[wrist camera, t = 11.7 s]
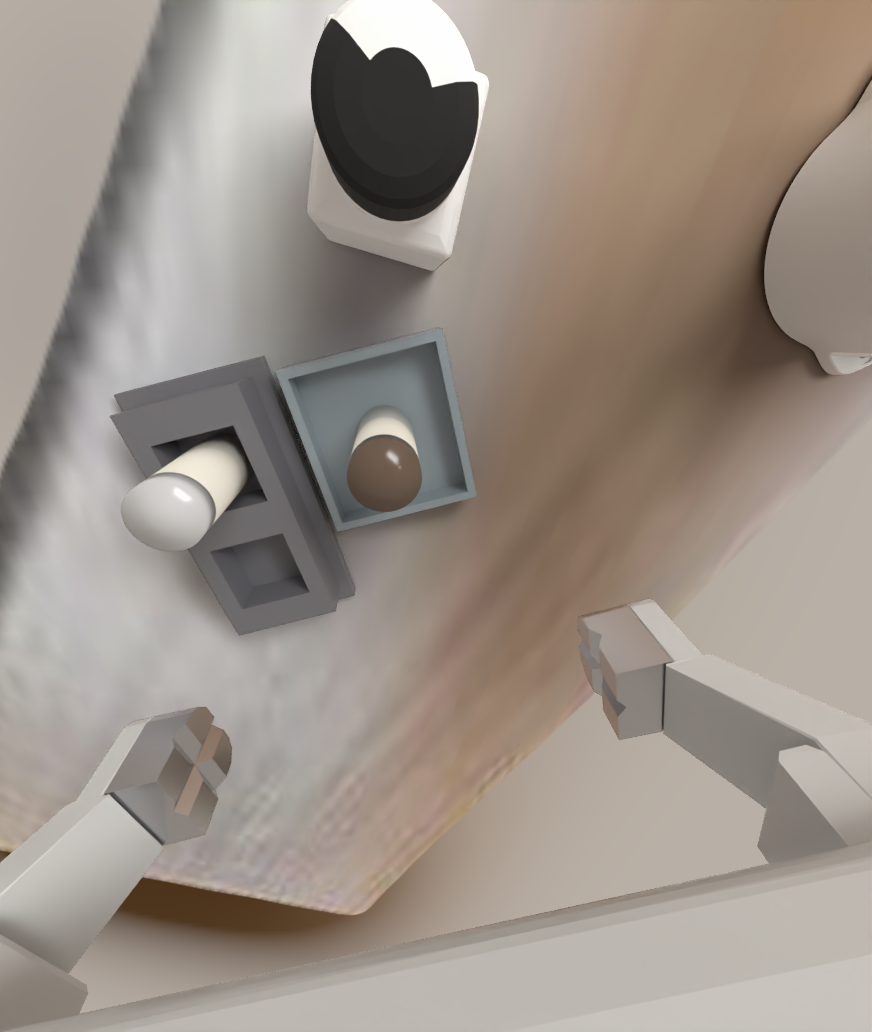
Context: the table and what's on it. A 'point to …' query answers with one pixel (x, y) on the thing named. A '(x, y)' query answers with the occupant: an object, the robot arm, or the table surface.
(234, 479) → the dome-capped cream cylinder
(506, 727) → the table surface
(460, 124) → the medicine bottle
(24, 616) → the table surface
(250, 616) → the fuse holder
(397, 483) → the cylinder
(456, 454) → the parts tray
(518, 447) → the table surface
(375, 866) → the table surface
